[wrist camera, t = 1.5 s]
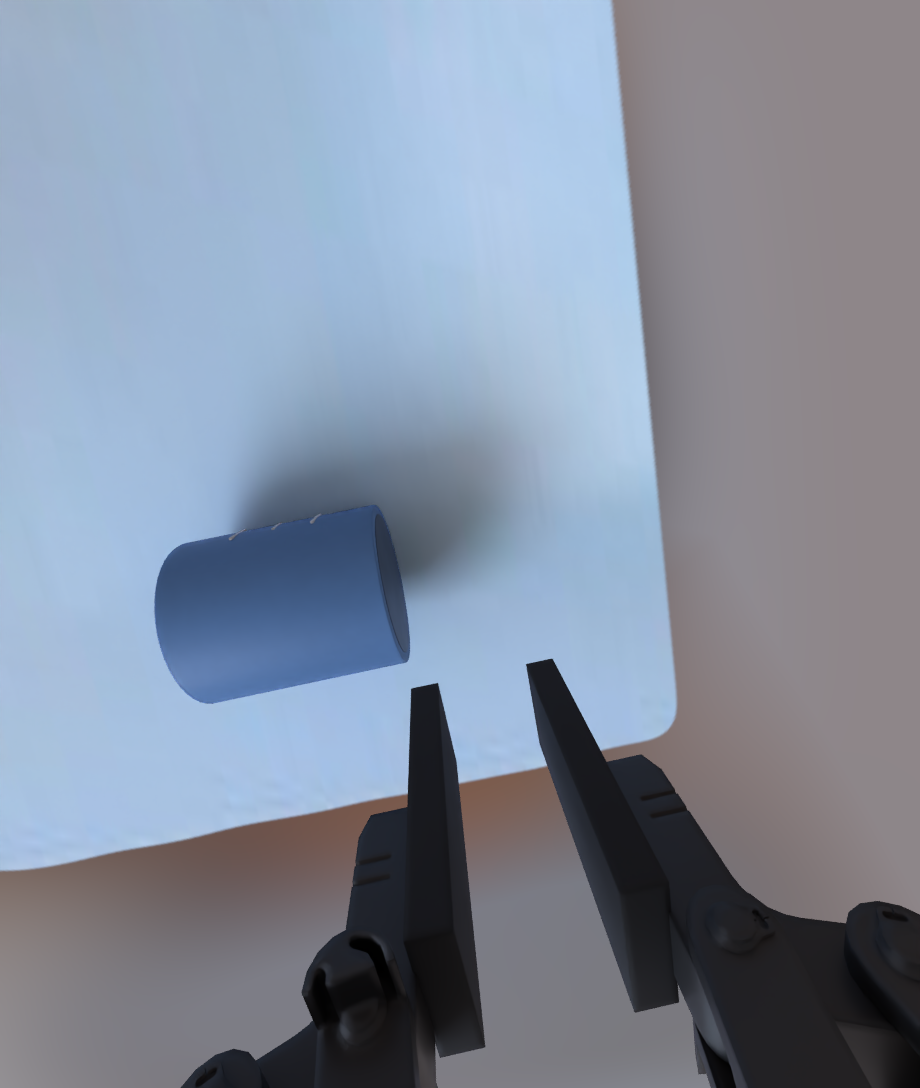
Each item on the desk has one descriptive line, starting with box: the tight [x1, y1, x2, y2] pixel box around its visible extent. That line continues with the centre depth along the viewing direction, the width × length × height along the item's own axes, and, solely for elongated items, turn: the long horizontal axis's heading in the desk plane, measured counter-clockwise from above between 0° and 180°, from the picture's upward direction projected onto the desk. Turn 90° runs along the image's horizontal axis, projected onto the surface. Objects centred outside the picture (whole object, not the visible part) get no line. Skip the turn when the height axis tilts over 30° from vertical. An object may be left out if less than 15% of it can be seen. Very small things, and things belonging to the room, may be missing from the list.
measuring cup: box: [155, 505, 410, 704], centre depth 25 cm, size 10×8×8 cm
